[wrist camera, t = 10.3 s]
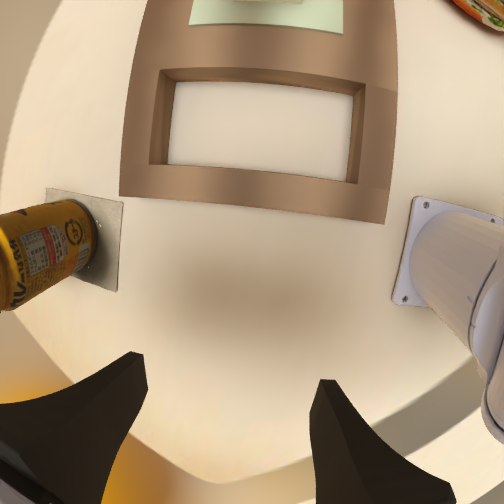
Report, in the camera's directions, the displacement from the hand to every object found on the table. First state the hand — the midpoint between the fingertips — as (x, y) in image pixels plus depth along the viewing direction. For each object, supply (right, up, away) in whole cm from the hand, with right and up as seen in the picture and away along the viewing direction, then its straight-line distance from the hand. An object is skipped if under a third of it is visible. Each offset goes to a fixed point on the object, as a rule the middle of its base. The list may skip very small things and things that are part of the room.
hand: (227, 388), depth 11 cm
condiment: (-13, +7, +11) cm, 18 cm away
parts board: (+2, +18, +5) cm, 19 cm away
